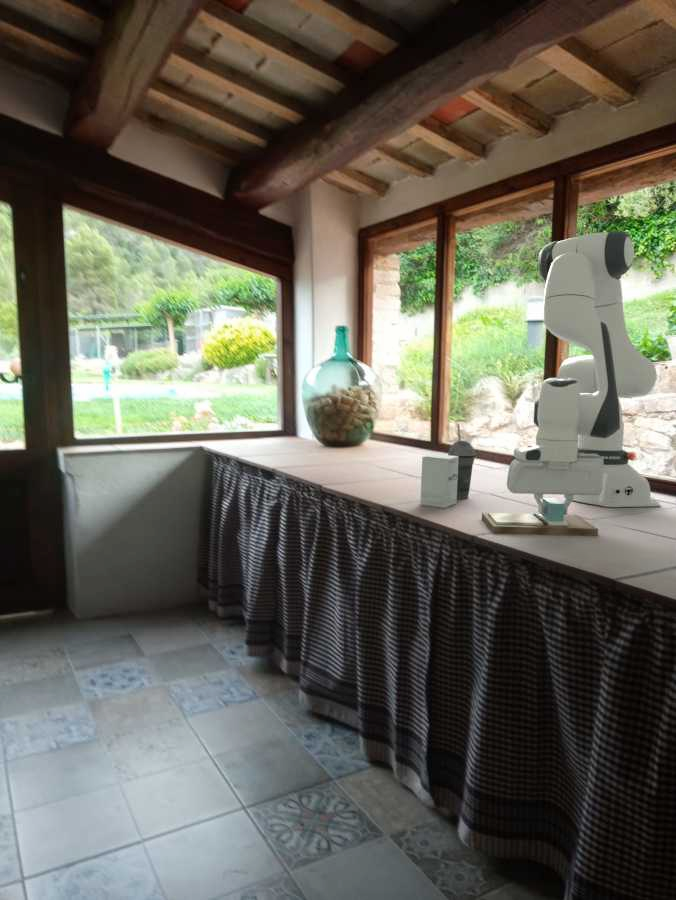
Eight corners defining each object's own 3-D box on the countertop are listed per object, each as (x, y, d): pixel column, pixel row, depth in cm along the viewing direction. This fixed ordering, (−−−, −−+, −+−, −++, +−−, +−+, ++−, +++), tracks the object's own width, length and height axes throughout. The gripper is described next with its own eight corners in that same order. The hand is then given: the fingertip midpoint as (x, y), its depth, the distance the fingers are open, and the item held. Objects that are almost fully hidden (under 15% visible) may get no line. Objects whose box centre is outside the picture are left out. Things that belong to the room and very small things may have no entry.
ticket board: (576, 521, 150) (577, 512, 149) (597, 535, 137) (598, 526, 136) (481, 519, 150) (482, 510, 150) (493, 533, 137) (493, 523, 137)
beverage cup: (473, 500, 172) (476, 426, 169) (445, 499, 173) (448, 425, 171) (473, 495, 179) (476, 423, 176) (446, 494, 180) (449, 422, 178)
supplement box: (446, 508, 161) (448, 458, 160) (419, 505, 165) (421, 456, 164) (457, 503, 167) (459, 455, 166) (431, 500, 171) (432, 453, 170)
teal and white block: (555, 516, 148) (556, 497, 147) (567, 525, 139) (569, 505, 138) (537, 515, 148) (538, 496, 147) (549, 525, 139) (550, 504, 138)
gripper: (598, 451, 144) (594, 511, 146) (506, 449, 145) (503, 509, 146) (609, 454, 138) (605, 518, 140) (513, 452, 138) (510, 515, 140)
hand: (552, 513), depth 143 cm, fingers closed on teal and white block, 3 cm apart
